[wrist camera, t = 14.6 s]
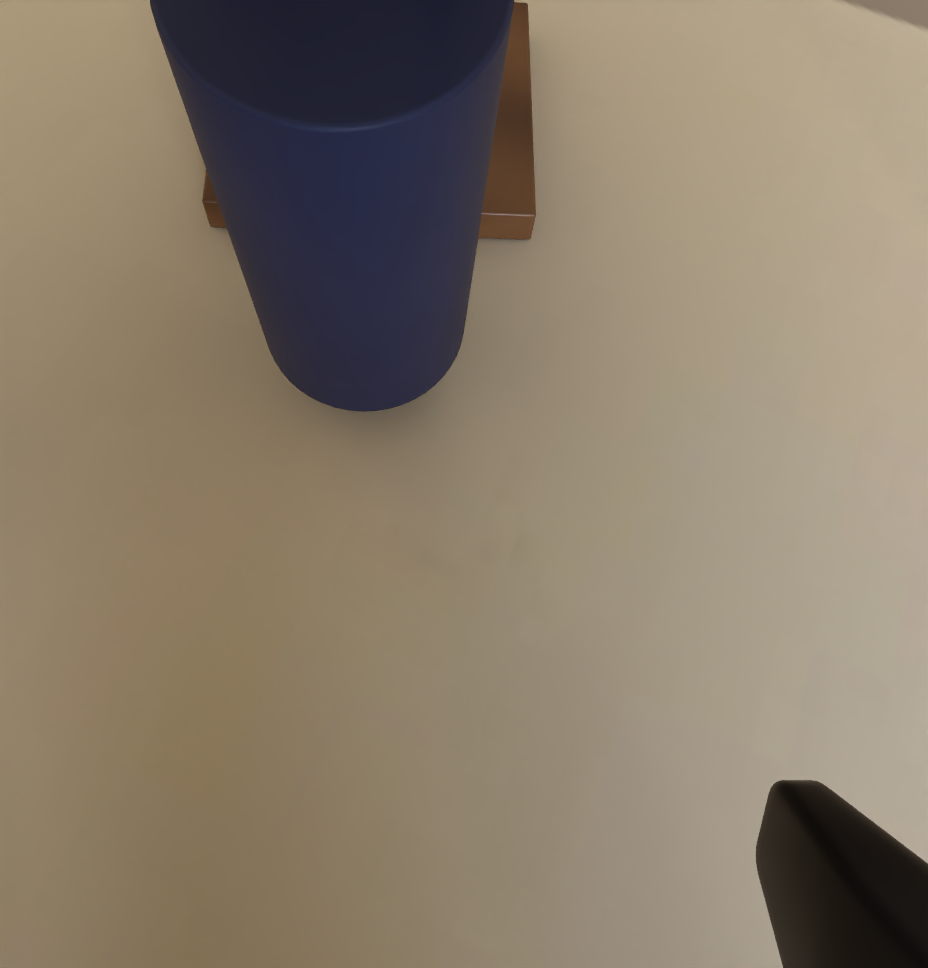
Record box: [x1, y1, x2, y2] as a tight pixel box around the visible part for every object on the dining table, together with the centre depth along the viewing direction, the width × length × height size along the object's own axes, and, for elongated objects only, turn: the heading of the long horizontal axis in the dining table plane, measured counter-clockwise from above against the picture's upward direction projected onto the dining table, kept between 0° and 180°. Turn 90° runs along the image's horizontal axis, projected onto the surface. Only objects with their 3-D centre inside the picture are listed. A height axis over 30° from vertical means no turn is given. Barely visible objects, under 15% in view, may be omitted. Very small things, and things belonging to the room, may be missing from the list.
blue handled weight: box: [150, 0, 514, 411], centre depth 14 cm, size 4×4×13 cm
